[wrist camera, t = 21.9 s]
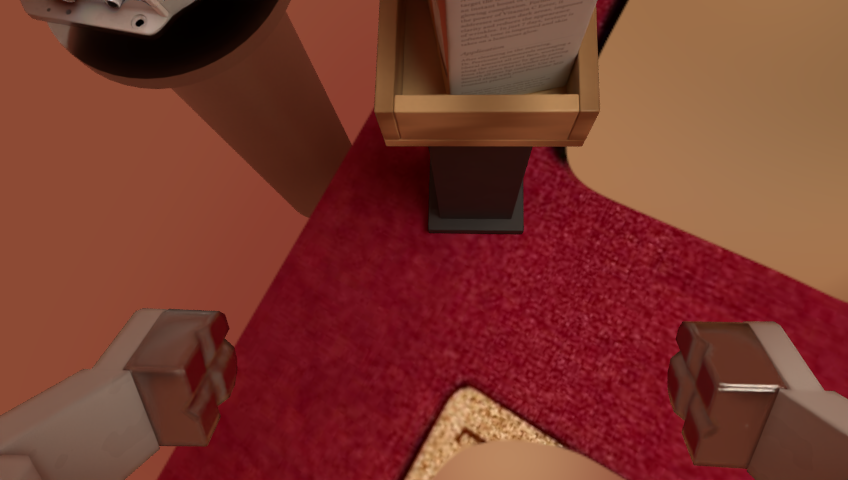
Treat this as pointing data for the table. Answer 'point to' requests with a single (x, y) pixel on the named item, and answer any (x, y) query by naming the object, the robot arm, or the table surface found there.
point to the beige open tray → (471, 114)
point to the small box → (507, 43)
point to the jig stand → (477, 189)
